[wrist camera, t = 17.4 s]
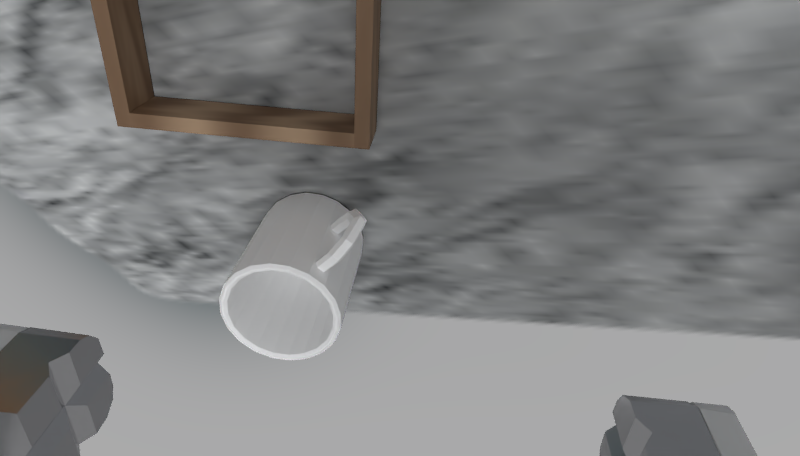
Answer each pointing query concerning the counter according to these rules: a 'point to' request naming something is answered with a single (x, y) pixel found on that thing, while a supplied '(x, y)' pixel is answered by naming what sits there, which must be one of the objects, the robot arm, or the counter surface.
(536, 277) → the counter surface
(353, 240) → the mug
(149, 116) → the wooden frame
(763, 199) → the counter surface
